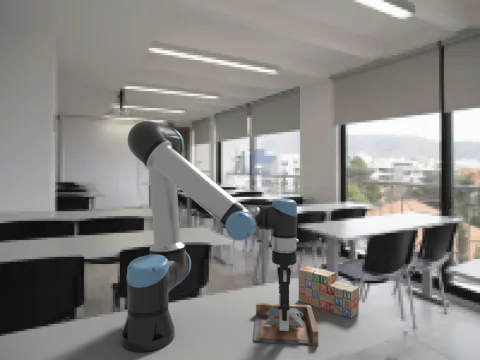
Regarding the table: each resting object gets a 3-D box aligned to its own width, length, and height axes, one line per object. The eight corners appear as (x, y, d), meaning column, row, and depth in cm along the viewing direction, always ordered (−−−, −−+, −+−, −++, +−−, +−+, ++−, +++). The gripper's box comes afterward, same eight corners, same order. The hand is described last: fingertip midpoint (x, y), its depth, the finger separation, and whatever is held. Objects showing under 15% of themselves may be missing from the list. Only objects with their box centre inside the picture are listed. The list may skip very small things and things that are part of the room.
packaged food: (303, 334, 94) (303, 317, 94) (263, 330, 97) (263, 314, 97) (303, 321, 103) (303, 305, 103) (266, 317, 105) (266, 302, 105)
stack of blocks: (359, 313, 113) (359, 278, 113) (350, 319, 109) (351, 282, 108) (307, 296, 128) (307, 265, 128) (298, 300, 124) (298, 268, 123)
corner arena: (253, 341, 94) (253, 328, 94) (256, 314, 112) (256, 302, 112) (318, 345, 92) (318, 331, 92) (310, 316, 110) (310, 305, 110)
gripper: (299, 260, 88) (298, 341, 89) (294, 242, 109) (293, 307, 110) (271, 259, 89) (271, 340, 89) (271, 241, 110) (271, 306, 111)
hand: (283, 322), depth 100 cm, fingers closed on packaged food, 9 cm apart
